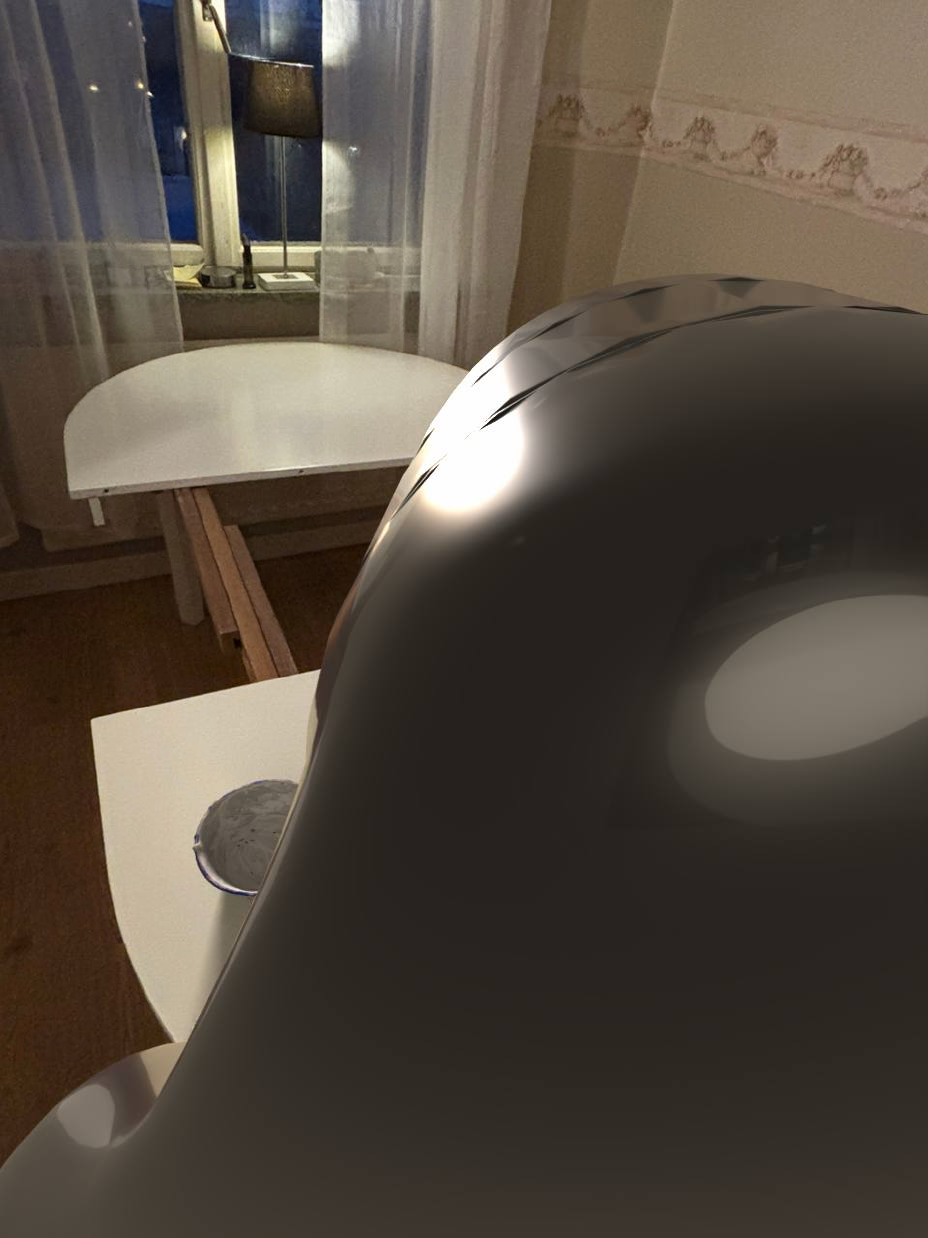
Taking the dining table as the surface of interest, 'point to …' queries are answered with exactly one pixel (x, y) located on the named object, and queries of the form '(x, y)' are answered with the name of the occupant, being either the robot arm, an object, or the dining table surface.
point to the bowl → (243, 834)
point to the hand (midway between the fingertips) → (431, 1065)
